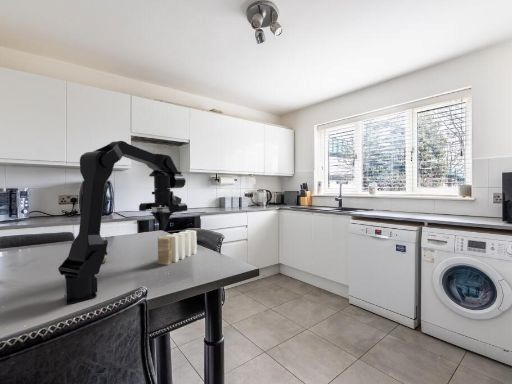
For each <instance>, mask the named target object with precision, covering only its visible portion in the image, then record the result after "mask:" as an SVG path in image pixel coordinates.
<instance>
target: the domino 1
mask: <svg viewBox="0 0 512 384" xmlns="http://www.w3.org/2000/svg"><path fill="white" fill-rule="evenodd" d="M157 261H158V262H157V263H158V264H159V265H166V266H170V265H172V263H173V262H172V257H171V238H168V237H165V236H159V237H157Z"/></svg>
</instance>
